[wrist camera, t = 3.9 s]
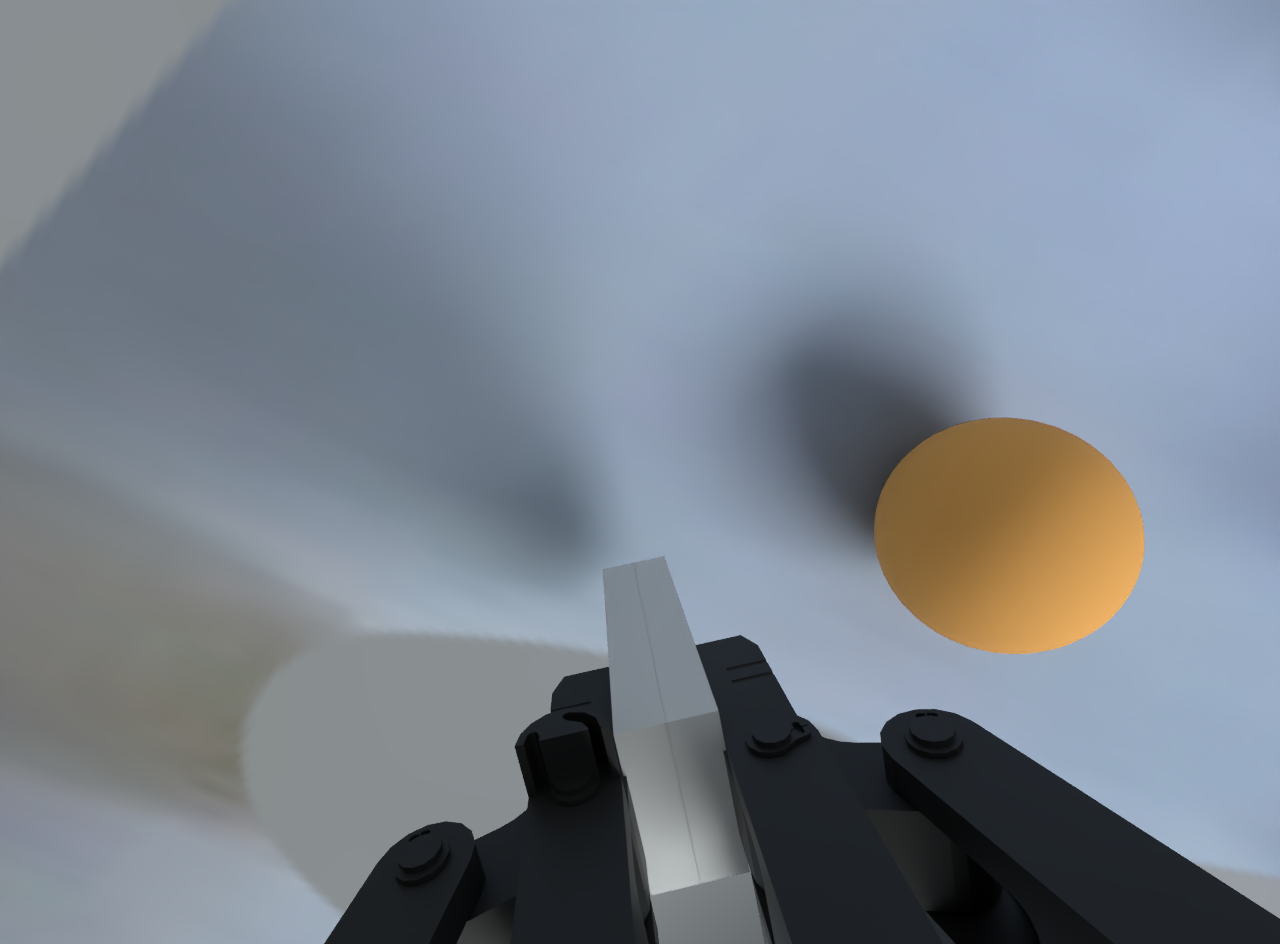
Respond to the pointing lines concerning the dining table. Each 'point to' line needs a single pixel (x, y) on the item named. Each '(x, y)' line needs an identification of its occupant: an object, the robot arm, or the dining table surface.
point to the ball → (1009, 535)
